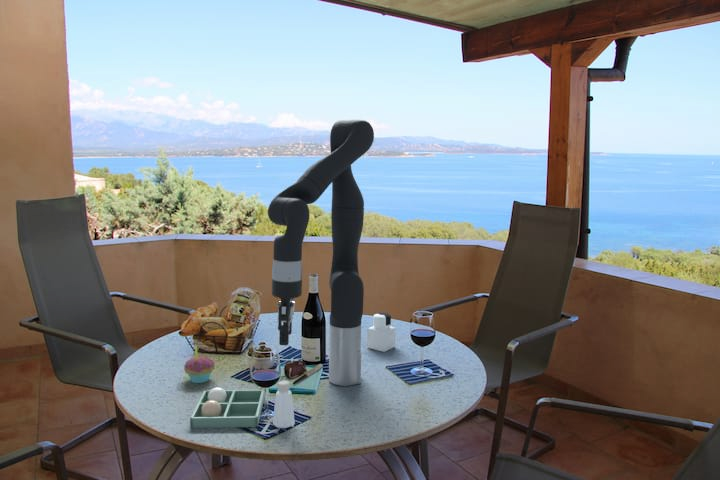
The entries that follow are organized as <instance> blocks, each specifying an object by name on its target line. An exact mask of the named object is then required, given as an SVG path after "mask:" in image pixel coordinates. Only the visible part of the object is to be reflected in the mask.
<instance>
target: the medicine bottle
mask: <svg viewBox="0 0 720 480" xmlns="http://www.w3.org/2000/svg"><path fill="white" fill-rule="evenodd" d="M372 319H373V321H372V323H373V325H372V326H370V327H369V328H367V349H371V350H375V351H379V352H383V353H385V352H388V351H389V350H391V349H393V348H396V331H397V328H396V327H395V326H392V325H391V323H392V316H391V314H389V313H387V312H377V313H374V314H373V317H372Z"/></svg>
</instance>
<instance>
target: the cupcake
mask: <svg viewBox="0 0 720 480" xmlns="http://www.w3.org/2000/svg"><path fill="white" fill-rule="evenodd" d="M194 352H195V353H194V354H195V357H193V358H190V359H188V361H186V362H185V364H184V366H183V367H184V368H183V369H184V372H185V374H187V375H188V377H189V379H190V381H191V383H194V384H202V383H206V382H208V381H209V380H210V377H211V374H212V372H213V371H214V370H215V368H216V366H215V365H216V364H215V362H214V360H213V359H210V358H209V357H207V356H203V355H201V356H199V355H198V354H199V353H198V346H197V345H196V343H194Z"/></svg>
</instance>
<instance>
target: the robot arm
mask: <svg viewBox="0 0 720 480" xmlns="http://www.w3.org/2000/svg"><path fill="white" fill-rule="evenodd" d="M374 139H375V133H374V129H373V126H372V125H371V123H370V122H368V121H367V120H363V119H341V120H337V121H335V122H334V123H333V125H332V127H331V130H330V135H329V144H330V146H329V147H330V153H329V154H328V155H326V156H324V157H323V158H321V159H319V160H317V161H316V162H314V163H313V164H312V165H310V166H309V167H308V168H307V169H306V170H305V171H304V172H303V174H302V175H300V177H299V178H298V179H297V180H296V182H294V183H292V184H291V185H289V186H288V187H286V188H285V189H284V190H282V191H280V193H278V194H277V195H276V196H275V197H274V198H273V199H272V200H271V202H270V203H269V206H268V209H267V217H268V219H269V220H270V222H271V223H273V224H275V225H277V226H285V232H284V234H282V235H278V236H276V237H275V238H274V240H273V259H272V261H273V262H272V268H271V296H273V297H274V298H279V299H280V300H279V302H278V304H277V311H278V314H277V323H278V326H277V330H278V331H279V336H278V337H279V345H280V346H288V345H289V341H290V336H291V335H292V331H293V330H292V327H293V322H292V321H293V319H294V315H295V307H296V302H295V301H294V299H297V298H300V297H301V296H302V294H303V291H302V288H303V262H302V258H303V256H302V255H303V243H304V242H303V241H304V238H305V235H306V231H307V228H308V225H309V222H310V209H309V205H312V204H313V203H315V202H317V201H318V200H319V199H320V198H321V196H322V194H324V192H325V191H326V190H327V188H329V186H330V185H332V186H331V191H332V192H331V193H332V194H331V196H332V197H331V210H330V211H331V215H330V219H331V240H332V241H331V243H332V257H331V258H332V261H331V267H330V275H329V282H328V283H329V290H330V314H329V337H328V338H329V344H328V345H329V347H328V348H329V349H328V350H329V351H328V353H329V354H328V381H329V382H330V383H331V384H333V385H336V386H340V387H341V386H343V387H348V386H354V385H357V384H358V385H359V384H361V382H362V318H363V313H364V298H365V297H364V293H365V289H364V281H363V280H362V278H361V276H360V274H359V264H358V263H359V257H358V254H359V253H358V251H359V246H360V241H361V237H362V233H363V227H364V219H365V218H364V215H365V201H364V196H363V194H362V192H361V190H360V187H359V186H358V183H357V181H356V179H355V176H354V173H353V170H352V165H353V164H354V163H355V162H356V161H357V160H358V159H360V158H361V157H363V155H365V154H366V153H367V152H368V151H369V150H370V149H371V148H372V146H373V143H374V141H375V140H374Z"/></svg>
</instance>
